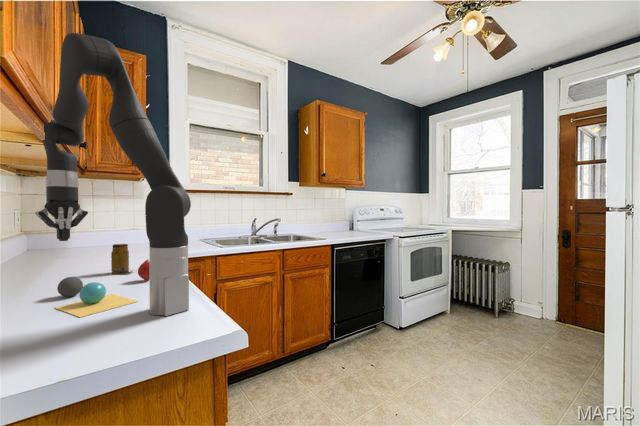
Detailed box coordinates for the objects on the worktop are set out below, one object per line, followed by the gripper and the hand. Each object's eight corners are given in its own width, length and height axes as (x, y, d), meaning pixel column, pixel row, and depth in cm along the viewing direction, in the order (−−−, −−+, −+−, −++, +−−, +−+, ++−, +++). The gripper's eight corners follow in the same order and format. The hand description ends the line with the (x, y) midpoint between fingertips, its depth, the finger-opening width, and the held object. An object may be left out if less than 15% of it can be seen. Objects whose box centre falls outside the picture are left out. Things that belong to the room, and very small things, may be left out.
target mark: (137, 301, 84) (137, 301, 84) (80, 317, 72) (80, 316, 72) (111, 294, 91) (111, 294, 91) (54, 308, 79) (54, 307, 79)
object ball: (95, 287, 87) (101, 305, 85) (71, 291, 81) (78, 310, 80) (106, 277, 86) (113, 295, 84) (84, 279, 80) (90, 298, 78)
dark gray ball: (73, 283, 93) (79, 298, 92) (50, 286, 88) (56, 302, 86) (83, 271, 92) (90, 287, 90) (60, 274, 86) (67, 290, 85)
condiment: (115, 271, 124) (115, 243, 124) (137, 270, 126) (137, 243, 126) (106, 275, 117) (106, 245, 117) (129, 274, 119) (129, 245, 118)
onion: (134, 281, 107) (133, 260, 107) (147, 278, 112) (147, 257, 112) (146, 283, 105) (146, 261, 105) (159, 279, 111) (159, 258, 110)
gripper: (82, 187, 99) (82, 238, 99) (29, 184, 87) (30, 242, 87) (93, 186, 95) (93, 239, 95) (39, 183, 83) (40, 243, 84)
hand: (63, 240), depth 91 cm, fingers closed
